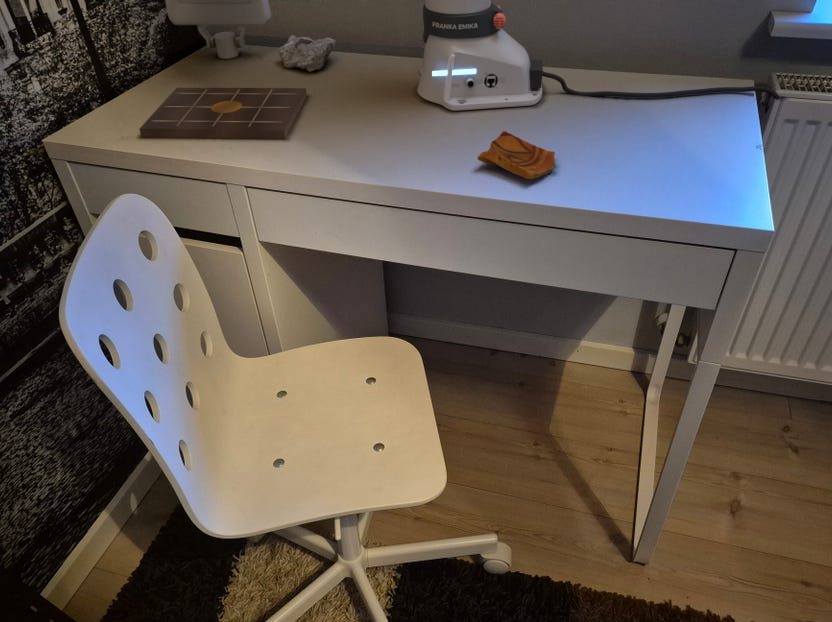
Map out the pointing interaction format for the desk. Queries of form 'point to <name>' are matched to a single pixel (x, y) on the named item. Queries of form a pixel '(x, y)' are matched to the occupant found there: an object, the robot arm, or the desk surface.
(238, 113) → the board
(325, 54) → the mineral specimen
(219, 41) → the white plastic cylinder
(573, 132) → the desk surface
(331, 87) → the desk surface
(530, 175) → the pottery fragment
